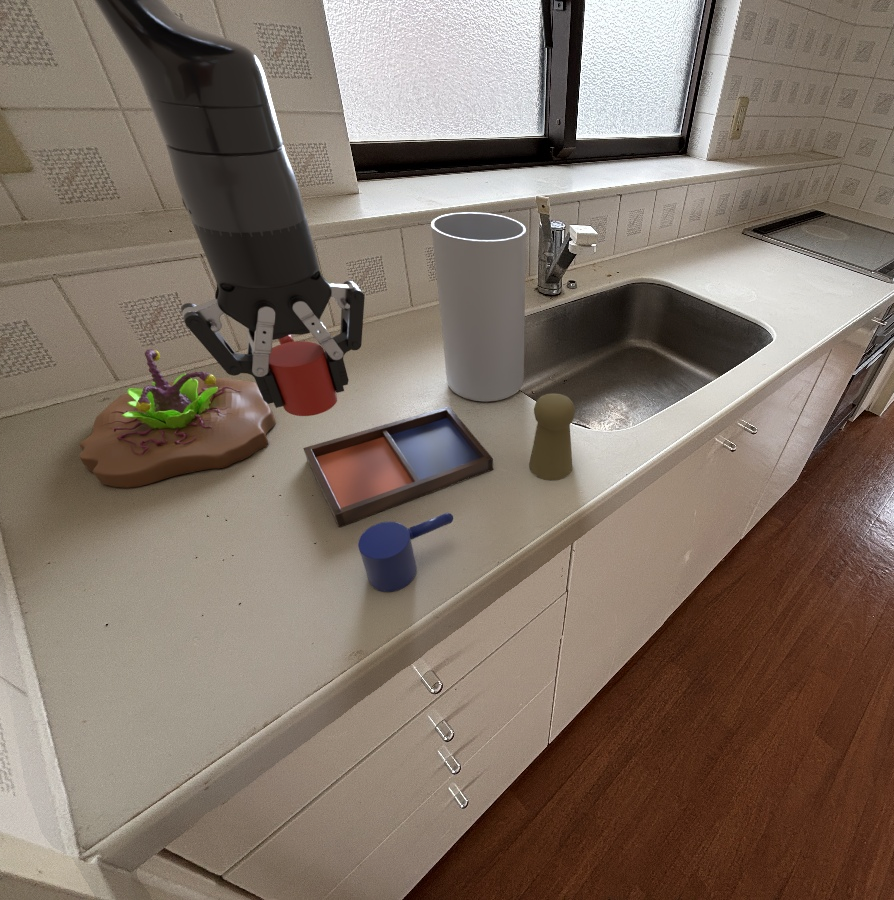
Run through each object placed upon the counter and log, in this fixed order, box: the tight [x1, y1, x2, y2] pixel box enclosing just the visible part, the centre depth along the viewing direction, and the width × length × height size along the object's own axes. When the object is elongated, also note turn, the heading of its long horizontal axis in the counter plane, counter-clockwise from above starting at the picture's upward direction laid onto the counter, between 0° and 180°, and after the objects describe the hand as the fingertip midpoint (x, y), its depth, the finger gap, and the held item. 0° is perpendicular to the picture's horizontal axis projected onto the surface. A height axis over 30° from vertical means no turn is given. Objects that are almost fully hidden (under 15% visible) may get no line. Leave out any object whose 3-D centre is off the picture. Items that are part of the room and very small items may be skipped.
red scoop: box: [269, 334, 338, 417], centre depth 49 cm, size 10×5×6 cm, turn 37°
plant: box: [78, 348, 276, 489], centre depth 63 cm, size 20×20×11 cm
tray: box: [303, 406, 494, 528], centre depth 65 cm, size 20×14×2 cm
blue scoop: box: [357, 512, 455, 593], centre depth 52 cm, size 10×5×6 cm, turn 127°
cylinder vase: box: [430, 211, 527, 402], centre depth 75 cm, size 12×12×25 cm
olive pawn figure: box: [528, 392, 576, 481], centre depth 65 cm, size 6×6×11 cm
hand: (309, 394), depth 49 cm, fingers closed on red scoop, 4 cm apart
